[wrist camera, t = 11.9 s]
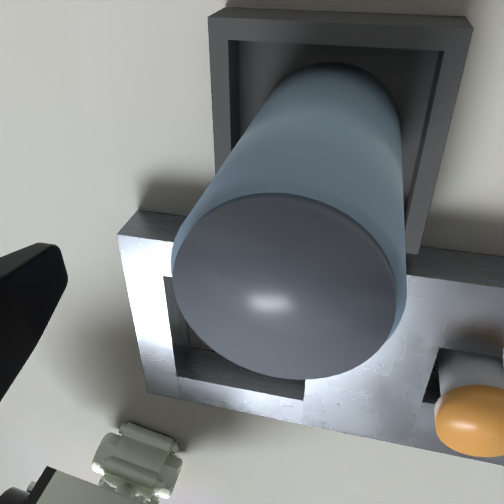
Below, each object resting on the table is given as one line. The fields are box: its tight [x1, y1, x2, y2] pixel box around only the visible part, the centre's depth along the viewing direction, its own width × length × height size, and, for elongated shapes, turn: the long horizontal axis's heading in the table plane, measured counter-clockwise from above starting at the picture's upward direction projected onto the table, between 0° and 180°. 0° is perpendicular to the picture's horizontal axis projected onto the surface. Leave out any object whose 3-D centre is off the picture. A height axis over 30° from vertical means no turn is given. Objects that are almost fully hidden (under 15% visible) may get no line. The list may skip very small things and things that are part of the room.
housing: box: [117, 210, 504, 466], centre depth 21 cm, size 18×10×2 cm, turn 90°
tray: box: [208, 8, 474, 255], centre depth 16 cm, size 7×7×2 cm
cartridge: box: [171, 62, 407, 380], centre depth 13 cm, size 5×5×9 cm
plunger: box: [434, 347, 504, 457], centre depth 19 cm, size 3×3×4 cm
